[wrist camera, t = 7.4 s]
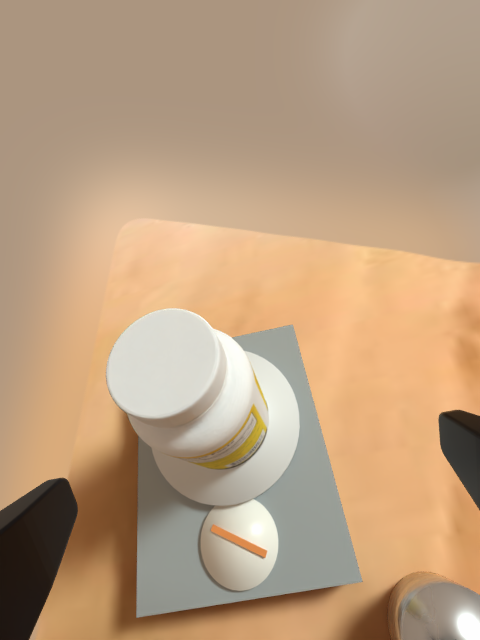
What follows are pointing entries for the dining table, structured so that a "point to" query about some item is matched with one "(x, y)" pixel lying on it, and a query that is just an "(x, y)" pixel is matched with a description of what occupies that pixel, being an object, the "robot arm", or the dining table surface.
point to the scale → (246, 505)
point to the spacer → (433, 609)
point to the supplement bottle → (188, 390)
